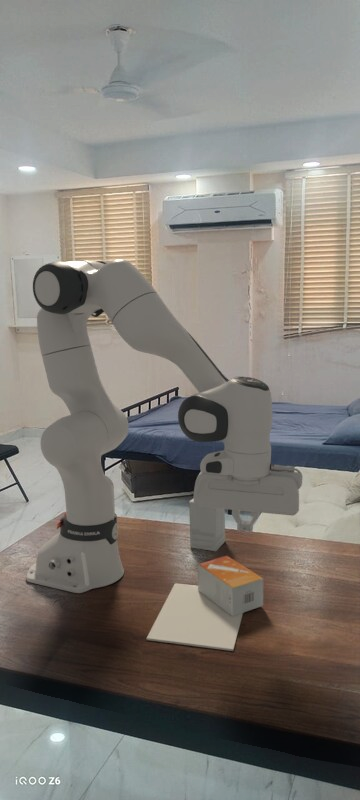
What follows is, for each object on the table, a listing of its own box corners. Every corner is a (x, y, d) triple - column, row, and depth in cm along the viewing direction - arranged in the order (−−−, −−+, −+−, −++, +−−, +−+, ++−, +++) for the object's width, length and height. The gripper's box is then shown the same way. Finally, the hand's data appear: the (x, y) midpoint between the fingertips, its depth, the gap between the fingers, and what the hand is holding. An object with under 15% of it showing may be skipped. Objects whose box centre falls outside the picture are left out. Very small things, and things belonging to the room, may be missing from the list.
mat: (146, 640, 111) (146, 638, 111) (175, 584, 132) (175, 583, 132) (233, 651, 107) (233, 649, 107) (248, 592, 128) (248, 590, 128)
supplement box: (226, 541, 155) (225, 495, 153) (215, 552, 148) (215, 504, 146) (200, 537, 158) (199, 492, 156) (189, 547, 151) (188, 501, 149)
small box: (232, 587, 116) (196, 563, 127) (232, 617, 117) (197, 590, 128) (264, 577, 120) (227, 554, 131) (264, 606, 122) (227, 581, 133)
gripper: (303, 462, 112) (300, 530, 115) (198, 454, 117) (197, 519, 120) (302, 471, 106) (298, 543, 109) (192, 463, 111) (191, 531, 114)
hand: (245, 531), depth 114 cm, fingers closed
